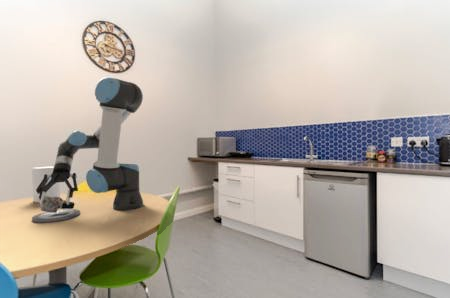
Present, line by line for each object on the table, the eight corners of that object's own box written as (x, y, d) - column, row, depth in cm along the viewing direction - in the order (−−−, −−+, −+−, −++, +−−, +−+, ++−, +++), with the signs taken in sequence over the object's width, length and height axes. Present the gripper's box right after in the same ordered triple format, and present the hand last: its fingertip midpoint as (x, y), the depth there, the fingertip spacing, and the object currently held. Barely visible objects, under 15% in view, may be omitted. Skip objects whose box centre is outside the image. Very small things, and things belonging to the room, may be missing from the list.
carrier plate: (88, 211, 130) (88, 208, 130) (60, 223, 111) (60, 220, 111) (54, 210, 132) (54, 208, 132) (20, 222, 114) (20, 219, 114)
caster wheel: (75, 211, 129) (66, 214, 119) (50, 208, 127) (40, 210, 117) (78, 198, 130) (70, 199, 120) (54, 195, 128) (44, 196, 118)
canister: (65, 197, 164) (64, 166, 164) (46, 202, 151) (44, 168, 150) (48, 196, 167) (46, 166, 167) (27, 201, 154) (26, 168, 154)
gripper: (88, 170, 139) (83, 206, 125) (39, 172, 132) (28, 210, 118) (85, 161, 134) (80, 197, 120) (35, 162, 127) (22, 201, 113)
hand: (54, 204), depth 119 cm, fingers closed on caster wheel, 10 cm apart
